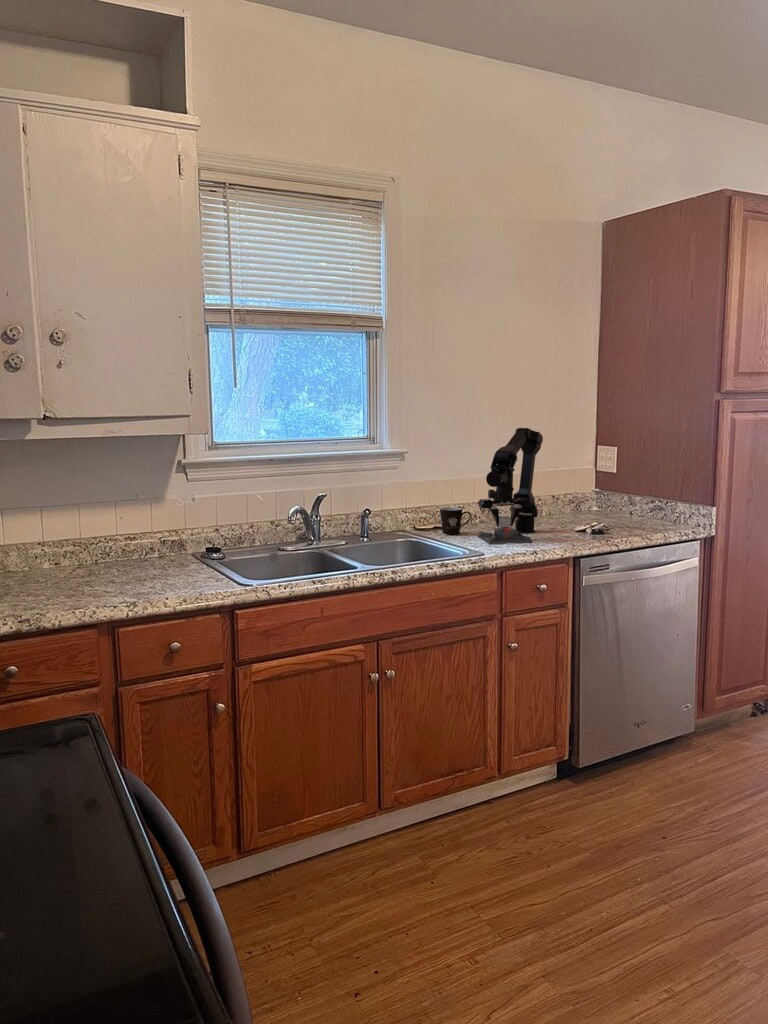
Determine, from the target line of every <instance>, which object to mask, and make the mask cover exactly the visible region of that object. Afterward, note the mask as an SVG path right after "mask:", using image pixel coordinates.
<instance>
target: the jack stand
mask: <svg viewBox="0 0 768 1024" xmlns="http://www.w3.org/2000/svg"><path fill="white" fill-rule="evenodd" d="M493 530H494V533H493V532H486V531H479V534H477V537H478V538H479V539H480V538H481V539H480V540H482V541H483V540H484V541H483V542H485V543H486V542H487V543H486V544H488V545H508V544H507V543H515V544H532V543H533V539H531V536H525V535H524V534H523V533H518V531H515V528H514V529H513V528H512V527H511V528H504V530H499V527H496V528H493Z"/></svg>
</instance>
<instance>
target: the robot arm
mask: <svg viewBox="0 0 768 1024" xmlns="http://www.w3.org/2000/svg"><path fill="white" fill-rule="evenodd" d="M543 441H544V437H543V434H541V432H539V431H536V430H532V429H531V428H528V427H518V428H516V429H515V433H514V434H513V435H512V436H511V438H510V440H509V441H508V442H507V444H506V445H505V446H502V447H500V448H498V449H497V450H496V452H495V453H494V455H493V458H492V462H491V465H490V469H491V471H488V473H487V475H486V478H485V480H486V483H487V485H488V486H489V487H492V488H495V490H494V489H489V490H487V496H488V498H480V499H478V503H477V505H478V508H480V509H484V510H485V509H487V510H489V511H491V515H492V516H493V519H494V522H495V525H496V528H499V517H500V509H499V508H498V507H502V506H503V507H505V506H508V507H509V506H510V518H511V527H513V526H514V530H515V531H518V533H520V534H535V533H536V531H535V518H538V515H539V510H538V507H537V505H536V502H535V501H536V500H535V499H536V498H535V497H534V494H533V492H532V491H533V482H534V481H533V480H534V473H535V472H534V471H535V463H536V455H537V454H538V453H539V451H540V450H541V448H542V443H543ZM520 450H521V452H522V461H521V462H522V463H521V470H520V479H519V488H518V490H517V492H515V493H514V491H515V488H514V471H515V465H516V463H517V461H518V455H517V454H519V453H518V452H520ZM513 493H514V494H513ZM492 499H493V500H492Z"/></svg>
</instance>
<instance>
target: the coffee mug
mask: <svg viewBox="0 0 768 1024" xmlns="http://www.w3.org/2000/svg"><path fill="white" fill-rule="evenodd" d="M439 512H440V513H439V514H440V520H441V521H440V522H441V530H442V534H443V533H444V534H447V535H456V536H459V535H460V534H461V528H462V527H464V525H467V524H468V523H469V522H470V520H471V519H472V518H473V517H472V513H471V512H470V511H463V508H462V507H457V506H456V507H453V506H452V507H449V506H448V507H441V508H439ZM465 514H468V515H469V518H468V520H466V521H465V522H464V523H462V517H463V515H465ZM458 534H459V535H458Z"/></svg>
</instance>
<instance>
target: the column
mask: <svg viewBox="0 0 768 1024" xmlns="http://www.w3.org/2000/svg"><path fill="white" fill-rule="evenodd" d="M498 528H499V530H504V528H512V526H511V516H506V515H505V516H504V515H503V516H499V527H498Z"/></svg>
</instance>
